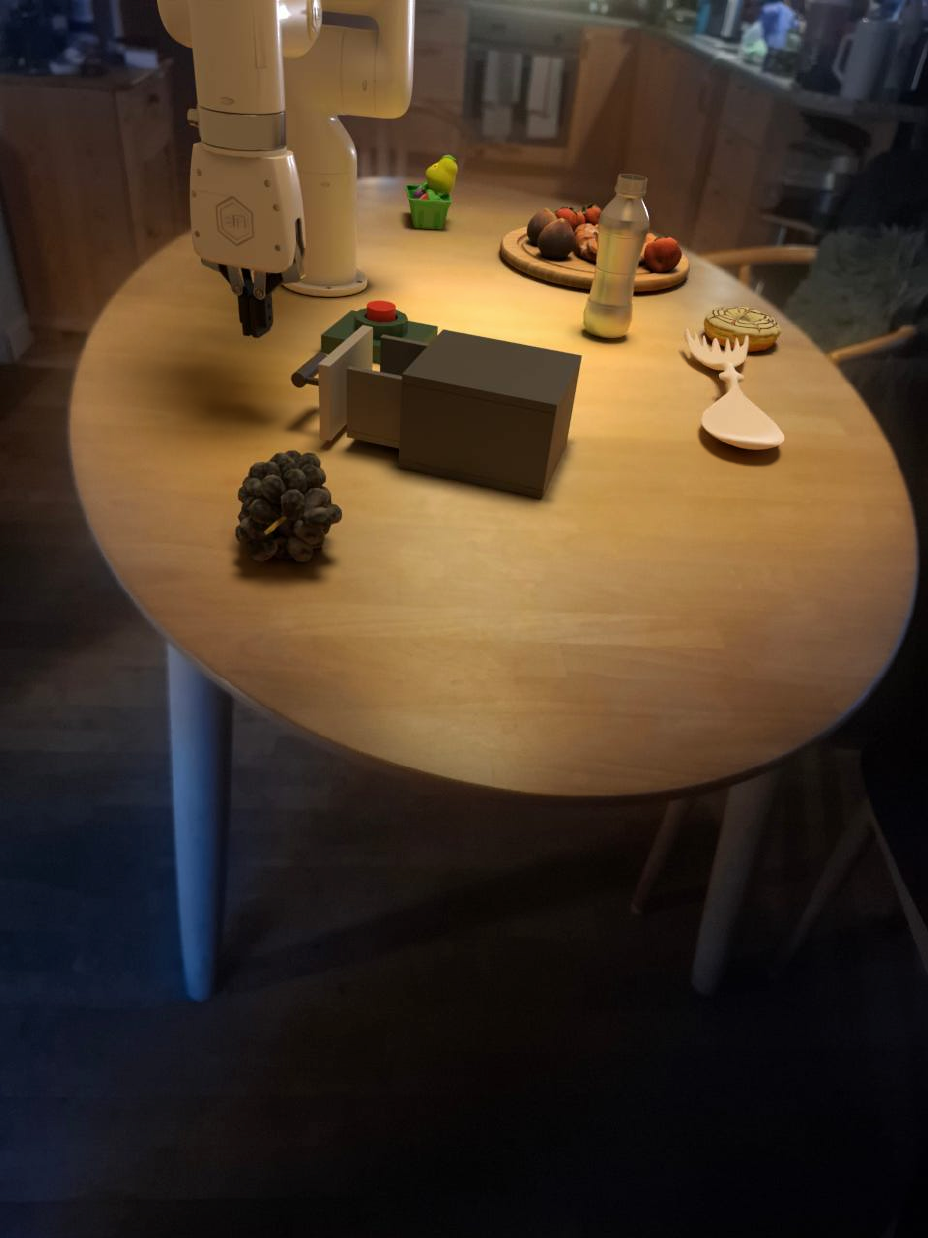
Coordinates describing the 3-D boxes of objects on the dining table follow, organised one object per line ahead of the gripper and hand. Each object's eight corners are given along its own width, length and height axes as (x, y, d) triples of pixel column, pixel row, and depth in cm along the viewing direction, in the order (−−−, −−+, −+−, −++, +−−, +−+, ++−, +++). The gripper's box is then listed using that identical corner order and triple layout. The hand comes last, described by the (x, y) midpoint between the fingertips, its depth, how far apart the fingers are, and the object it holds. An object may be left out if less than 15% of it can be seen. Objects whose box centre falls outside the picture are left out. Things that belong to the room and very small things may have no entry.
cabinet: (398, 467, 86) (401, 373, 80) (437, 415, 96) (442, 328, 89) (542, 498, 83) (557, 404, 77) (567, 442, 93) (582, 355, 87)
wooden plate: (727, 283, 143) (741, 230, 138) (582, 306, 128) (592, 248, 123) (601, 230, 163) (609, 183, 158) (462, 245, 148) (466, 193, 143)
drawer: (280, 430, 88) (276, 355, 83) (326, 387, 97) (324, 317, 92) (447, 466, 85) (453, 390, 80) (478, 418, 94) (485, 348, 89)
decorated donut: (786, 341, 124) (794, 315, 121) (760, 361, 116) (768, 334, 114) (718, 321, 128) (726, 295, 125) (689, 339, 121) (696, 312, 118)
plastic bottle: (627, 346, 117) (659, 186, 104) (577, 339, 117) (604, 178, 105) (629, 330, 122) (660, 175, 109) (582, 323, 122) (608, 168, 110)
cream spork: (743, 356, 117) (750, 331, 115) (786, 468, 92) (797, 439, 90) (677, 348, 118) (683, 323, 116) (703, 458, 93) (711, 428, 91)
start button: (362, 321, 106) (362, 307, 105) (372, 312, 109) (372, 298, 108) (389, 326, 106) (390, 312, 105) (399, 317, 108) (400, 303, 107)
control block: (320, 352, 107) (320, 320, 104) (351, 326, 114) (351, 295, 112) (412, 370, 105) (413, 338, 102) (437, 342, 112) (439, 312, 110)
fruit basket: (403, 212, 161) (406, 145, 154) (450, 215, 163) (455, 149, 155) (407, 229, 153) (410, 159, 145) (456, 232, 154) (462, 162, 147)
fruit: (260, 394, 75) (248, 477, 63) (350, 424, 78) (355, 509, 66) (235, 478, 80) (220, 569, 68) (321, 503, 83) (321, 595, 71)
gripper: (145, 125, 75) (172, 331, 87) (302, 149, 73) (309, 358, 84) (190, 114, 81) (210, 309, 93) (337, 136, 79) (339, 334, 90)
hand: (257, 332), depth 88 cm, fingers closed
